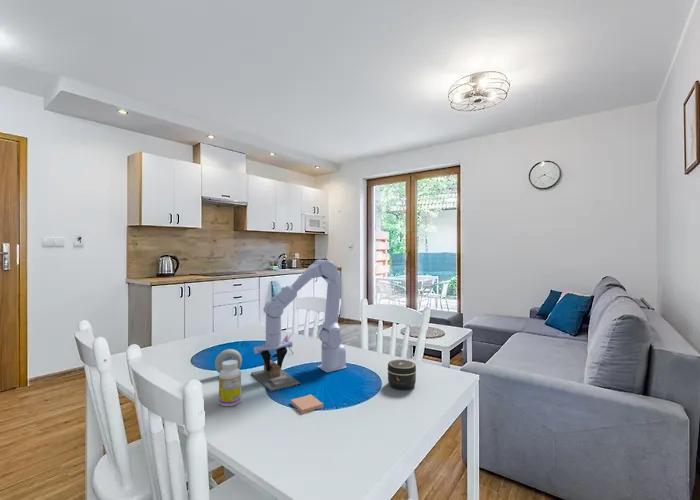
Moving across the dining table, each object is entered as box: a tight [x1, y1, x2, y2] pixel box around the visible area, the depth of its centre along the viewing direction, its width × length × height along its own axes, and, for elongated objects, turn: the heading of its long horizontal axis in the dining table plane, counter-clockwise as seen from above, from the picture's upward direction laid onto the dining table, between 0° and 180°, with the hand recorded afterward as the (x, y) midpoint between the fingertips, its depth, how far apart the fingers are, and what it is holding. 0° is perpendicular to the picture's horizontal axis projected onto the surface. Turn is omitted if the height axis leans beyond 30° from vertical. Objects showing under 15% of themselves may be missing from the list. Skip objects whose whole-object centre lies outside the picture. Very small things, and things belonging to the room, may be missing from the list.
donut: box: [214, 348, 243, 374], centre depth 133 cm, size 10×4×10 cm, turn 119°
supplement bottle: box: [218, 359, 242, 407], centre depth 110 cm, size 7×7×13 cm
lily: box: [273, 332, 294, 355], centre depth 159 cm, size 12×12×10 cm
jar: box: [387, 359, 417, 391], centre depth 123 cm, size 10×10×8 cm
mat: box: [251, 368, 301, 392], centre depth 129 cm, size 11×20×1 cm, turn 34°
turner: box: [263, 359, 291, 387], centre depth 128 cm, size 16×6×4 cm, turn 35°
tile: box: [290, 394, 324, 415], centre depth 107 cm, size 7×2×8 cm
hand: (273, 369), depth 129 cm, fingers open, 4 cm apart
